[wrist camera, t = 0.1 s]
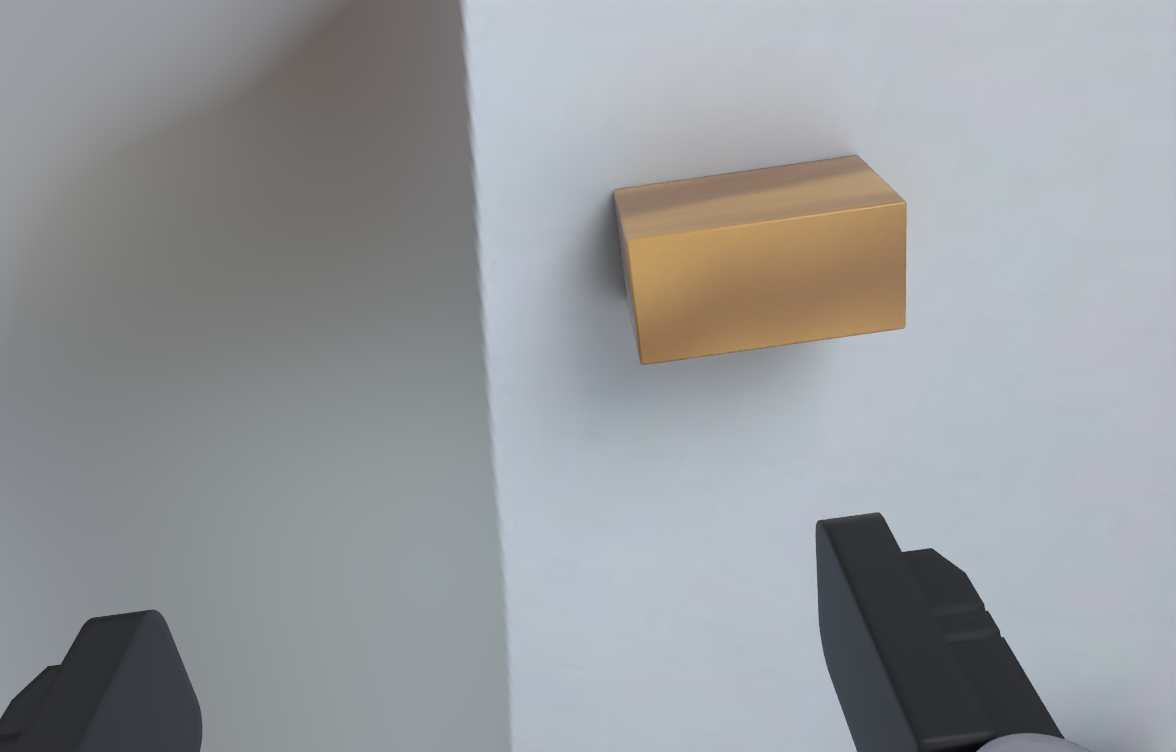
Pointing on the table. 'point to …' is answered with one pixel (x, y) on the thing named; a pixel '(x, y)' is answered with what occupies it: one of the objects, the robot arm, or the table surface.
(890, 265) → the honey block
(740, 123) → the table surface
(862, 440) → the table surface
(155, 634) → the robot arm
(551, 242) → the table surface
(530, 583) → the table surface
